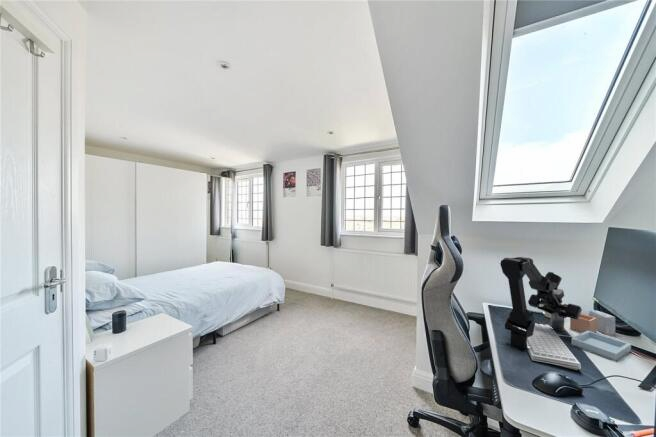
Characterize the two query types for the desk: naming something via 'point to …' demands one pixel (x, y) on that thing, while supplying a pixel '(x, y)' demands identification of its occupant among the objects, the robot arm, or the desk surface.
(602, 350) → the trough
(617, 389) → the desk surface
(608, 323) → the medicine box
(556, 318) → the block
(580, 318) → the orange open box
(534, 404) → the desk surface
